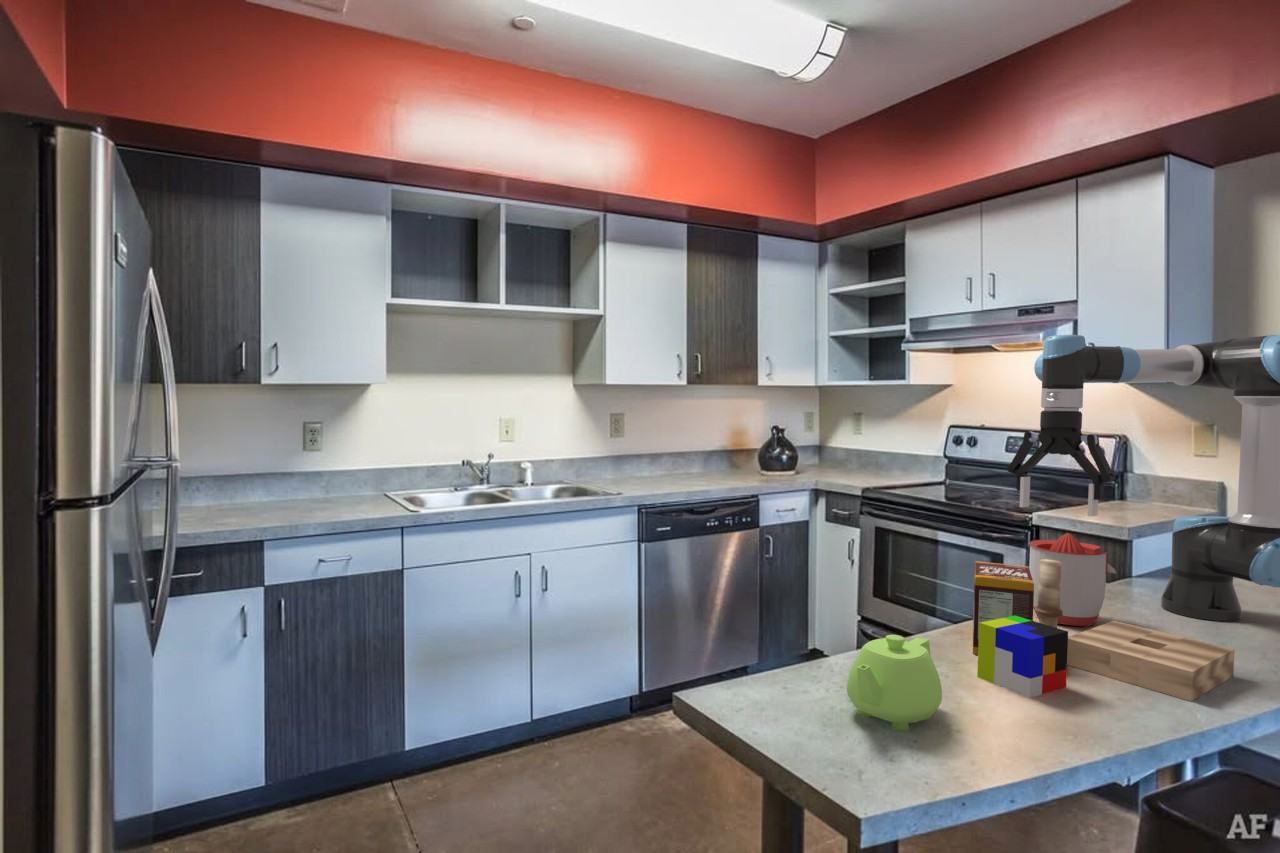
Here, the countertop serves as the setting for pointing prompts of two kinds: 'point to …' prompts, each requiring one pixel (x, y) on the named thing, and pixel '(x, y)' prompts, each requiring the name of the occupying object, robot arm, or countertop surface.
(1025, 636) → the puzzle toy
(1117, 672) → the seat board
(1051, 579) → the leg peg
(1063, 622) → the citrus juicer
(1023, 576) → the supplement box
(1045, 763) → the countertop surface
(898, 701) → the teapot
